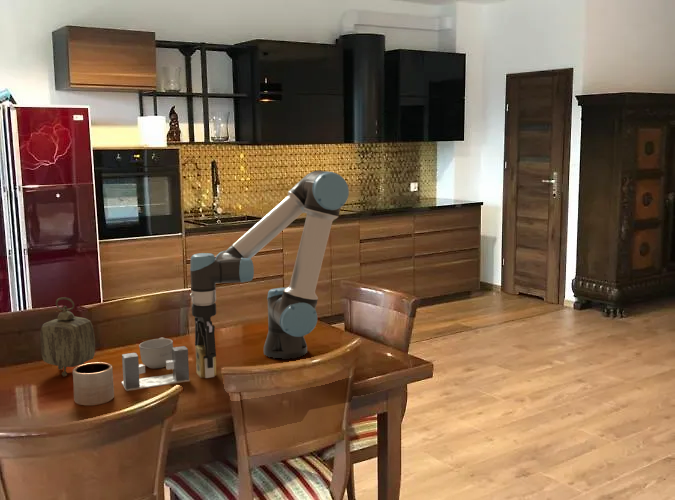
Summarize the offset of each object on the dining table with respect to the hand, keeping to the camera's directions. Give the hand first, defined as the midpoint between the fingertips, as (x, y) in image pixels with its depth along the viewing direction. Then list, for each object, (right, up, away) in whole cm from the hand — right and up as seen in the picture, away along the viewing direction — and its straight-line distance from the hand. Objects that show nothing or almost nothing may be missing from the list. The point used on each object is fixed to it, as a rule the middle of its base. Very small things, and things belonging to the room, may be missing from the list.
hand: (205, 373), depth 224 cm
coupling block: (0, 0, 0) cm, 0 cm away
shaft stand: (-14, -1, -7) cm, 16 cm away
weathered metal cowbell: (-44, -1, 0) cm, 44 cm away
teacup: (-17, +1, +10) cm, 20 cm away
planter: (-28, -4, -22) cm, 36 cm away
